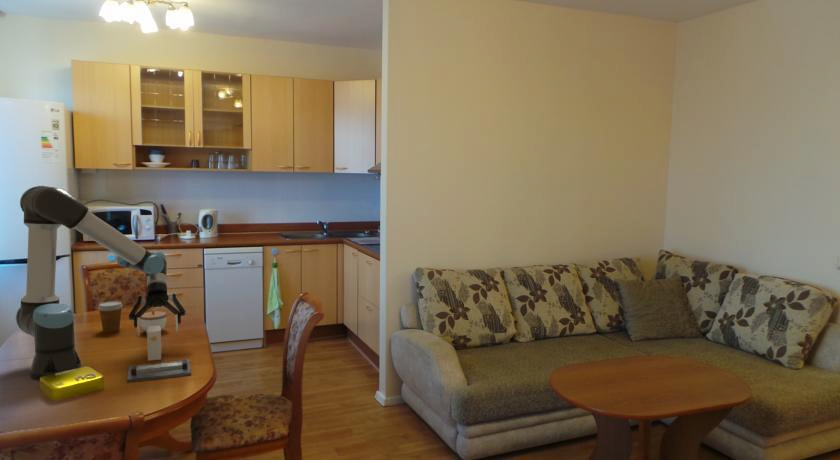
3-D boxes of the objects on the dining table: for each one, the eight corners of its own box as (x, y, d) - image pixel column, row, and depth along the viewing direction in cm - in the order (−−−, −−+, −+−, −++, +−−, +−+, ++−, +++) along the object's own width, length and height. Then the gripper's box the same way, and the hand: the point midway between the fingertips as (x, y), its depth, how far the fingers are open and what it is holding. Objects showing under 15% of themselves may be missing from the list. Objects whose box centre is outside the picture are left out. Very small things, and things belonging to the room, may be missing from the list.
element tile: (88, 377, 195) (88, 364, 195) (106, 389, 186) (105, 375, 185) (38, 389, 184) (37, 375, 183) (54, 402, 174) (53, 388, 174)
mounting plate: (126, 382, 190) (126, 374, 190) (129, 368, 203) (129, 361, 203) (190, 374, 199) (190, 367, 198) (189, 362, 211) (189, 354, 211)
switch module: (161, 360, 213) (160, 331, 212) (147, 361, 211) (146, 332, 210) (161, 352, 221) (160, 325, 220) (148, 354, 219) (147, 326, 218)
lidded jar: (159, 335, 243) (159, 314, 242) (135, 334, 243) (134, 313, 242) (171, 328, 253) (170, 308, 252) (147, 327, 254) (147, 307, 253)
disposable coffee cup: (94, 331, 246) (93, 304, 245) (114, 326, 255) (113, 300, 254) (107, 334, 242) (106, 307, 241) (128, 329, 250) (127, 302, 249)
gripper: (189, 289, 239) (192, 333, 227) (123, 293, 229) (122, 340, 217) (190, 279, 233) (192, 324, 222) (121, 283, 223) (121, 330, 211)
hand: (157, 332), depth 219 cm, fingers open, 13 cm apart
